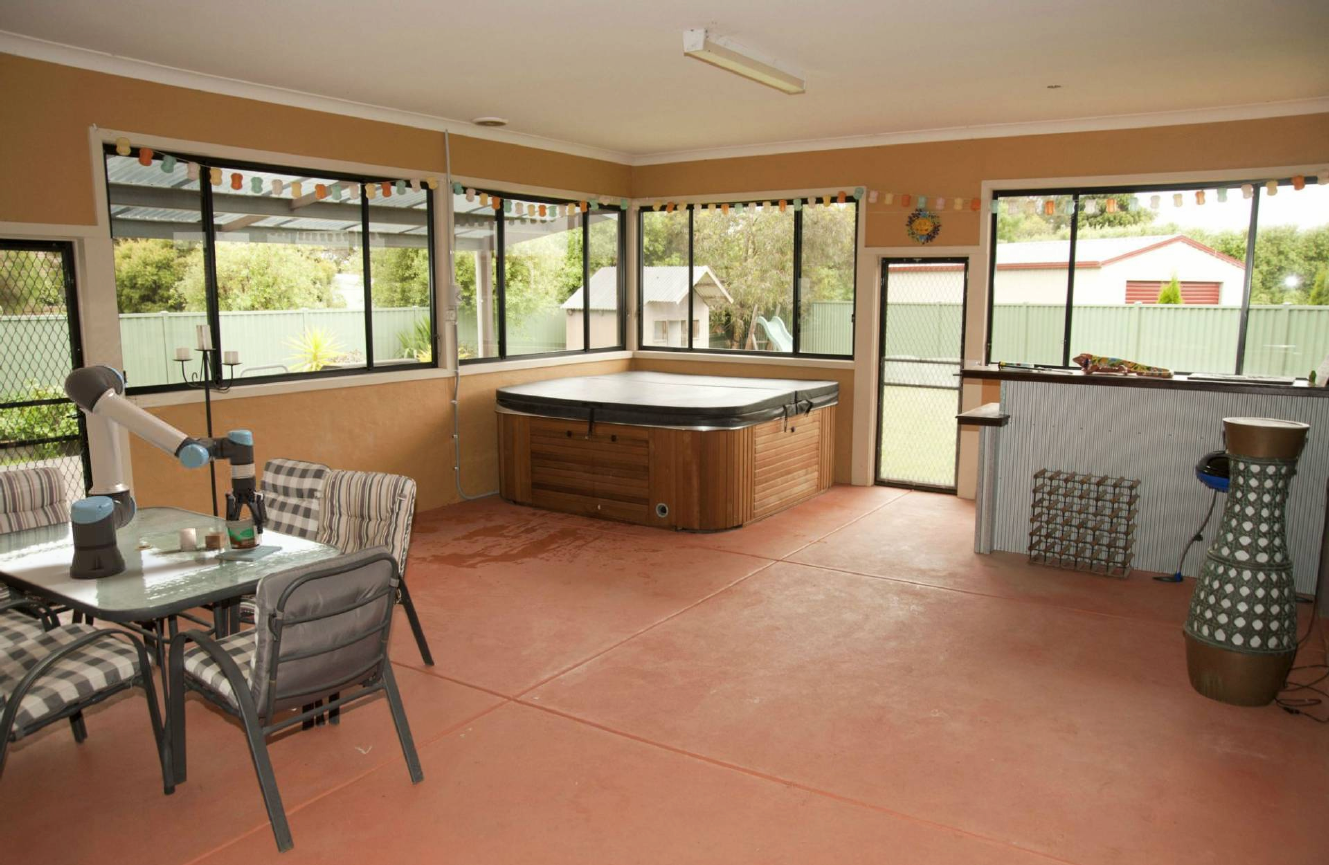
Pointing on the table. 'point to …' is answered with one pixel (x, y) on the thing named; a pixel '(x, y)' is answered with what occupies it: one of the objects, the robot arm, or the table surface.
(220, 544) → the walnut block
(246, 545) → the food container
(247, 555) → the teal board
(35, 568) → the table surface
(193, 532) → the cream cylinder
